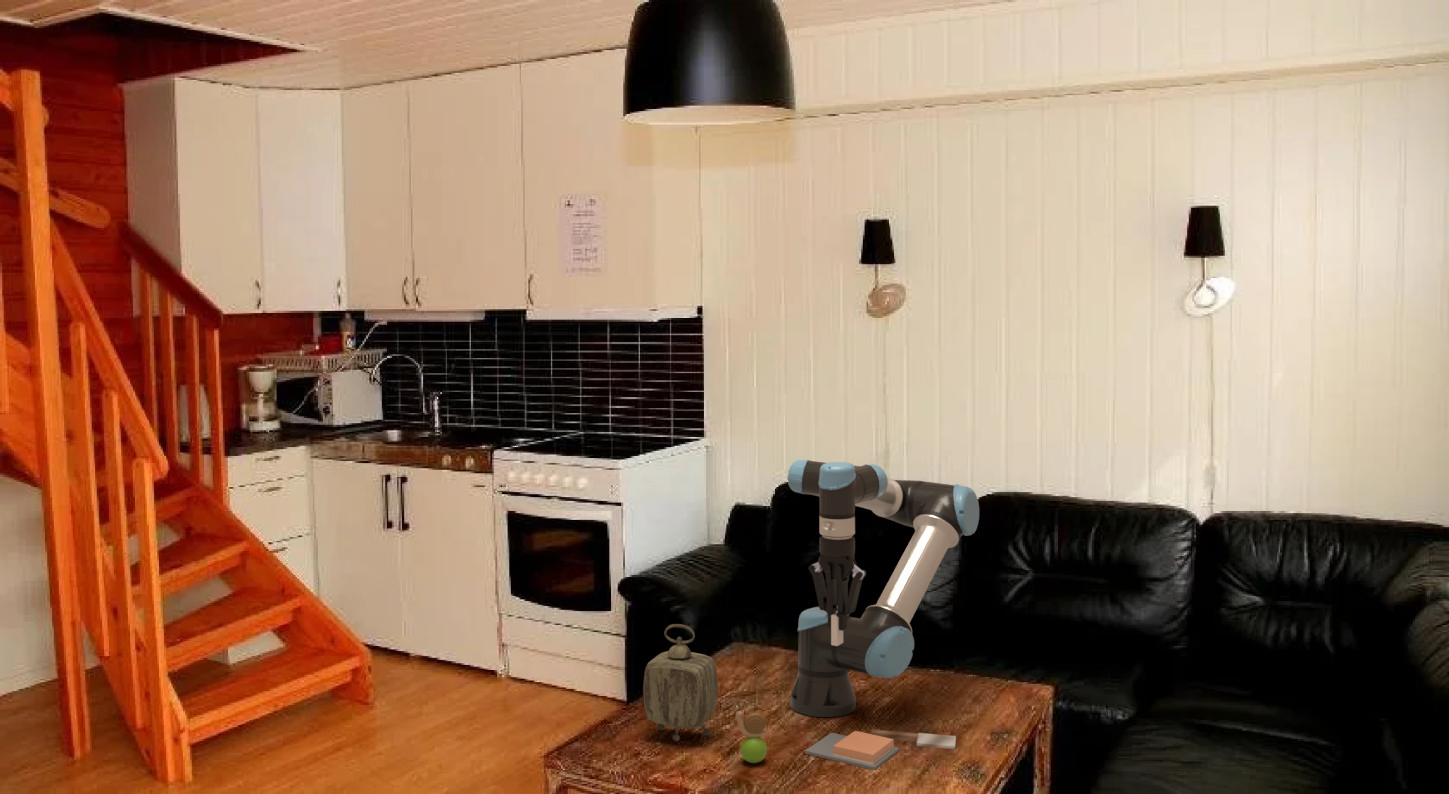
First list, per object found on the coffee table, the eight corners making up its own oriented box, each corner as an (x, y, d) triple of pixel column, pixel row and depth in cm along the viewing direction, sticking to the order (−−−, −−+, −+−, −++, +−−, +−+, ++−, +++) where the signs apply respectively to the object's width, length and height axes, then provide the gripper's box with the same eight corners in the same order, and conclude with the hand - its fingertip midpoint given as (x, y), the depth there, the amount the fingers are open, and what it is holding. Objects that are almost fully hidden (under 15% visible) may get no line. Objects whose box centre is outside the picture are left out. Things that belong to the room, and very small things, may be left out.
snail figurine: (734, 757, 249) (734, 701, 248) (765, 756, 250) (765, 700, 249) (737, 768, 244) (736, 710, 243) (768, 767, 244) (768, 709, 243)
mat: (804, 753, 251) (804, 750, 251) (831, 735, 261) (831, 732, 261) (874, 770, 243) (874, 767, 243) (899, 750, 253) (899, 747, 253)
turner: (869, 741, 258) (869, 736, 258) (872, 731, 264) (872, 726, 264) (955, 749, 254) (955, 743, 254) (955, 738, 260) (956, 733, 260)
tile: (833, 745, 249) (872, 755, 244) (855, 730, 257) (893, 739, 252) (833, 755, 249) (872, 764, 244) (854, 739, 257) (893, 748, 252)
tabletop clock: (717, 734, 262) (717, 622, 260) (703, 750, 253) (703, 633, 251) (656, 726, 267) (655, 616, 264) (640, 741, 258) (639, 627, 256)
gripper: (801, 535, 256) (802, 643, 258) (856, 542, 249) (856, 653, 251) (818, 529, 262) (818, 634, 265) (872, 535, 255) (872, 644, 258)
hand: (837, 643), depth 258 cm, fingers closed
